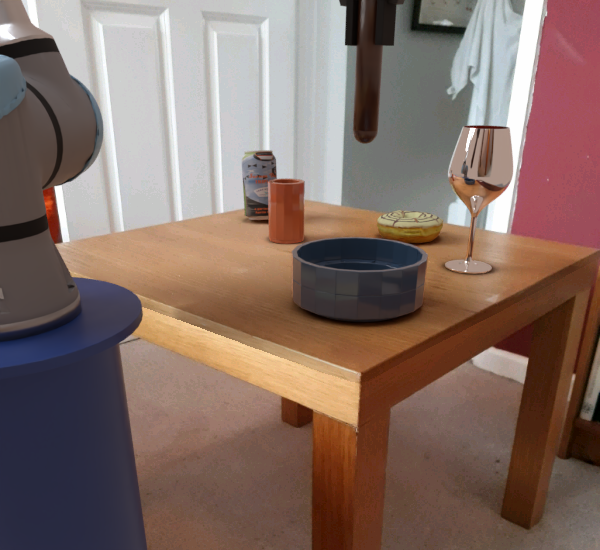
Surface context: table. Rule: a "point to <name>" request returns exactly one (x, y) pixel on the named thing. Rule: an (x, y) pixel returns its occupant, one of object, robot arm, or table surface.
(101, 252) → the table surface
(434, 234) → the decorated donut
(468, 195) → the wineglass
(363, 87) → the stirring stick
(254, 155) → the beverage can
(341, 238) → the bowl
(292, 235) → the utensil pot
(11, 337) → the robot arm
